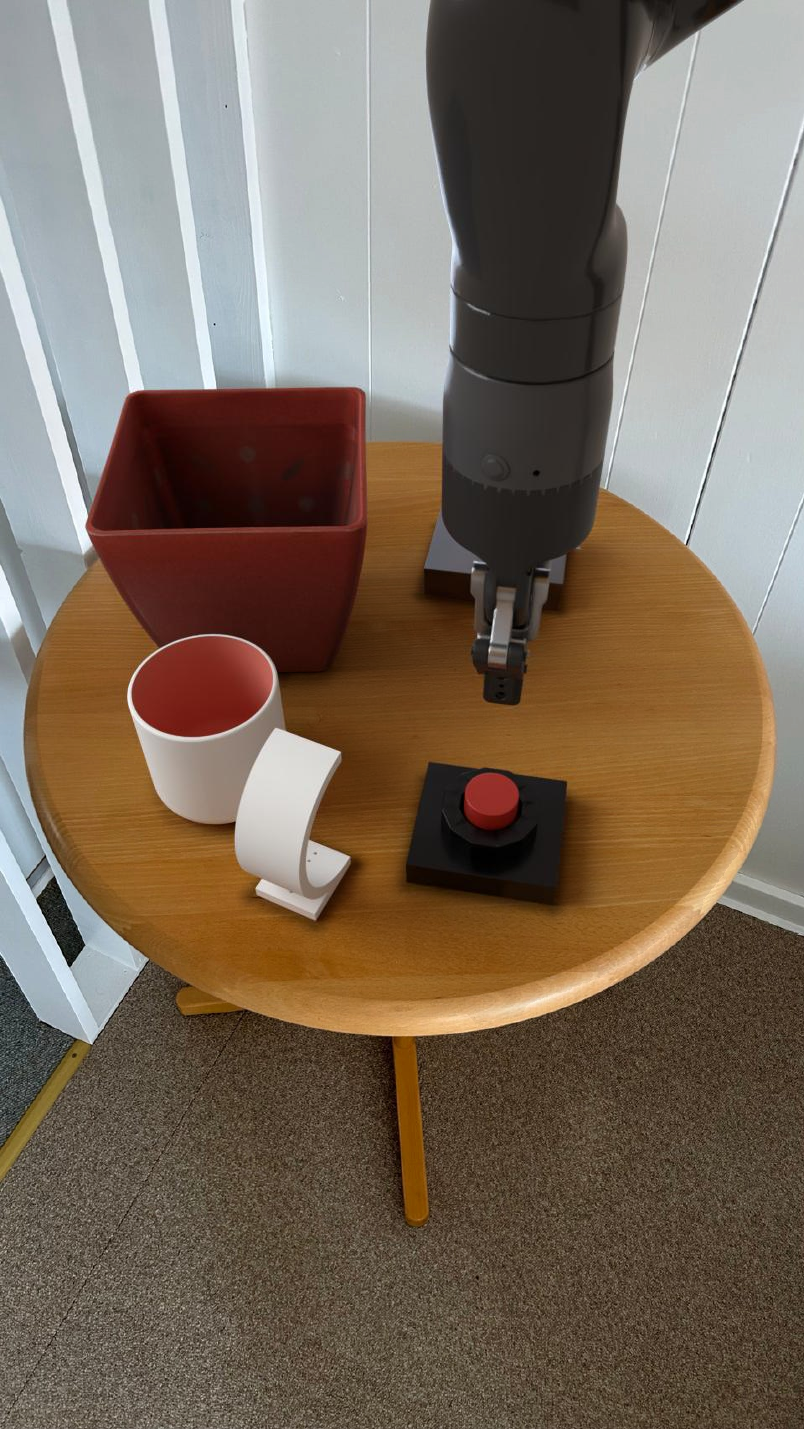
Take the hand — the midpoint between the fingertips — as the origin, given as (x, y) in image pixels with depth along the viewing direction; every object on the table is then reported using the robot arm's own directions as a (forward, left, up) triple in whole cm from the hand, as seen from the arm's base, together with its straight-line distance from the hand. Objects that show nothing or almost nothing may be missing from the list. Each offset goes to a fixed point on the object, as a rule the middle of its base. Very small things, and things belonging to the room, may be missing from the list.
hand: (502, 694), depth 57 cm
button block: (0, 0, -15) cm, 15 cm away
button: (0, 0, -11) cm, 11 cm away
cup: (+20, -2, -15) cm, 25 cm away
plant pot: (+22, -19, -15) cm, 33 cm away
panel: (+3, -30, -15) cm, 33 cm away
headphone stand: (+12, +6, -15) cm, 20 cm away
